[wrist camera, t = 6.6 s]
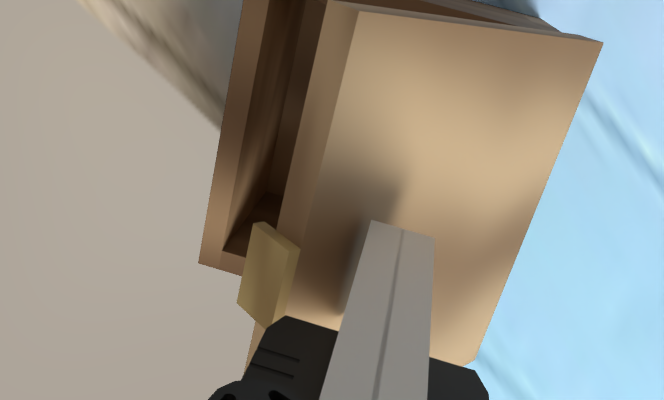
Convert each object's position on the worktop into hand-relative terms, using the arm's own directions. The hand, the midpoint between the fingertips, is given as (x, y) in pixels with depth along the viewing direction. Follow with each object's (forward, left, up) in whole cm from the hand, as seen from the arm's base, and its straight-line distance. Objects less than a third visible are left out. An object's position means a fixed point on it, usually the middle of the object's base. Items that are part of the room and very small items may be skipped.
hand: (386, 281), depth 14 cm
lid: (0, 0, -3) cm, 3 cm away
